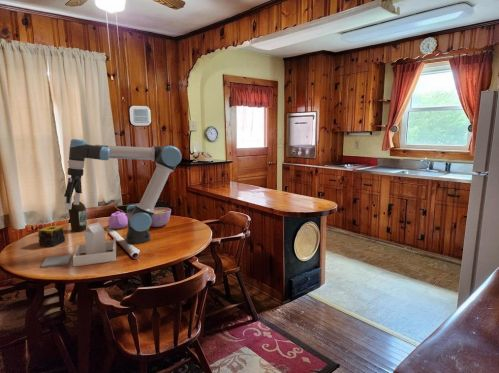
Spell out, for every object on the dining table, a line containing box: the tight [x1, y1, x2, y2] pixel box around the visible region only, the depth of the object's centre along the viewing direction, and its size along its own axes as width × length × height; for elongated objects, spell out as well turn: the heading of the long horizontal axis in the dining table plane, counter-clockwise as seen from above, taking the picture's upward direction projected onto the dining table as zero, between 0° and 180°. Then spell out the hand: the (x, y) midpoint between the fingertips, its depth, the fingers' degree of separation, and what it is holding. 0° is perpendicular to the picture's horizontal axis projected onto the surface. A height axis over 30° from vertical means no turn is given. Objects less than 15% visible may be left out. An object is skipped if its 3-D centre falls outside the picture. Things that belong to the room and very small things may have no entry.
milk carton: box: [83, 221, 107, 255], centre depth 175 cm, size 7×7×19 cm
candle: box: [37, 225, 66, 248], centre depth 197 cm, size 10×10×10 cm
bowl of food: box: [150, 207, 172, 228], centre depth 236 cm, size 20×20×12 cm
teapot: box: [108, 210, 128, 230], centre depth 231 cm, size 20×13×12 cm, turn 17°
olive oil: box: [68, 195, 88, 233], centre depth 223 cm, size 11×11×25 cm
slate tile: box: [40, 254, 72, 269], centre depth 170 cm, size 12×12×1 cm
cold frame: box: [72, 236, 117, 267], centre depth 176 cm, size 20×20×7 cm
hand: (72, 206), depth 174 cm, fingers open, 13 cm apart
